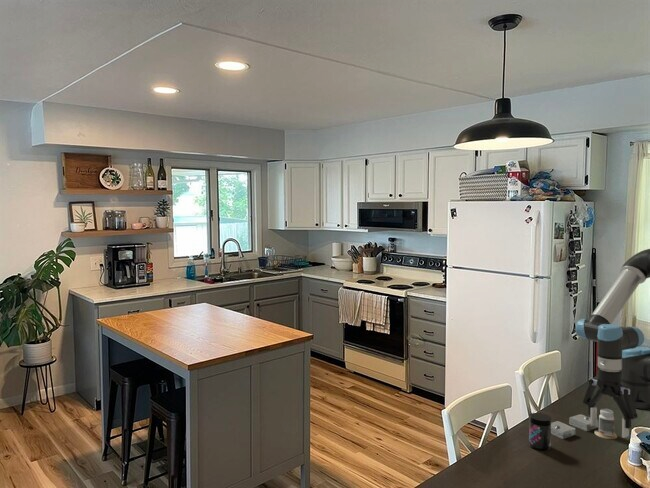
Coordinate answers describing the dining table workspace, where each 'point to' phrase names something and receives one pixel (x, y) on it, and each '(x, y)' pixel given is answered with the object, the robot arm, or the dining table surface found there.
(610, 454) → the dining table surface
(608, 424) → the pill bottle
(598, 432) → the cork coaster
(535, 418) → the supplement container
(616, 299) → the robot arm
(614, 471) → the dining table surface
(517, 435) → the dining table surface
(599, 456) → the dining table surface
